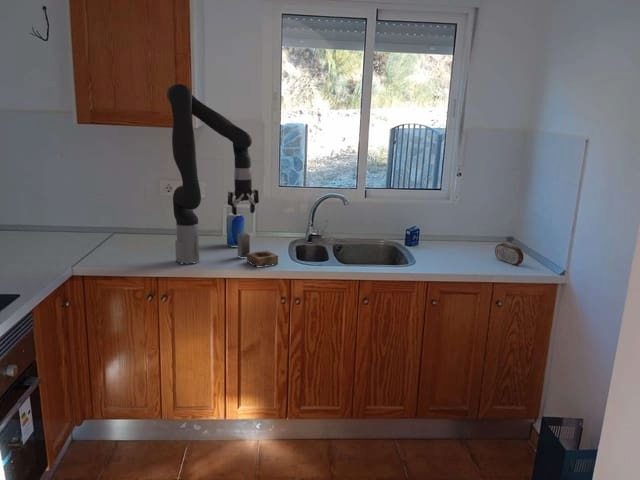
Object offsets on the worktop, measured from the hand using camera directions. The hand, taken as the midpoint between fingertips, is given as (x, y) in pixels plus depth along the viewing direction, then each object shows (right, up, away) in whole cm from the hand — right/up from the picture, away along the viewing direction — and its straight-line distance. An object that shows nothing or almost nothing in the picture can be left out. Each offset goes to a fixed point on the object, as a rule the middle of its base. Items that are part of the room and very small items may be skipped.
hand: (243, 213), depth 241 cm
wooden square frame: (+9, -22, -3) cm, 24 cm away
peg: (-1, -20, +5) cm, 21 cm away
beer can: (-7, -15, +24) cm, 29 cm away
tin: (+122, -22, +11) cm, 125 cm away
